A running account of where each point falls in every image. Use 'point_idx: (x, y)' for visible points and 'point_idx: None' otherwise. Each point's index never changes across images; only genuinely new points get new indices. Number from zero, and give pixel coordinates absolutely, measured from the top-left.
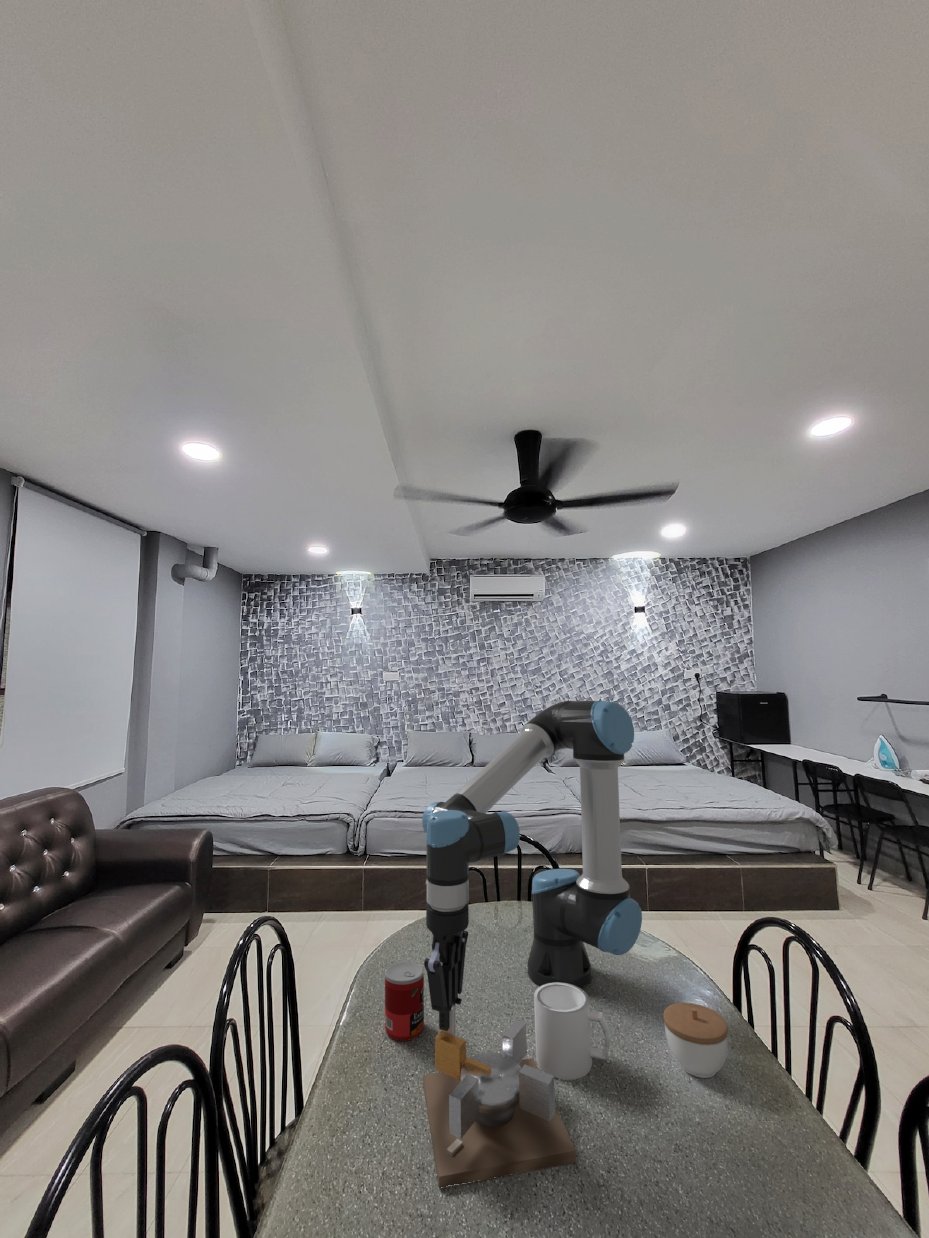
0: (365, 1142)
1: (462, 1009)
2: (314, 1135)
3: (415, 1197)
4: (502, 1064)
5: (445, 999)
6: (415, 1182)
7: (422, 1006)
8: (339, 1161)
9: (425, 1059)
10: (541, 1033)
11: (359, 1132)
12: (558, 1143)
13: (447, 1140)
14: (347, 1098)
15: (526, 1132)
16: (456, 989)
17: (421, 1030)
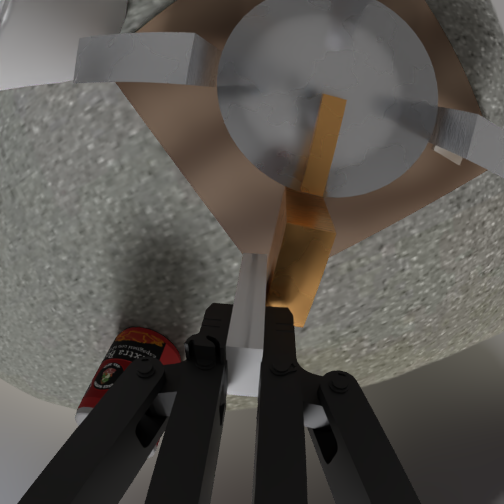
0: (421, 305)
1: (48, 279)
2: (410, 363)
3: (499, 192)
4: (273, 63)
5: (352, 427)
6: (480, 201)
7: (119, 360)
8: (450, 318)
9: (198, 297)
10: (63, 32)
11: (403, 321)
12: None
13: (432, 170)
14: (339, 365)
15: None
16: (193, 403)
17: (139, 329)
